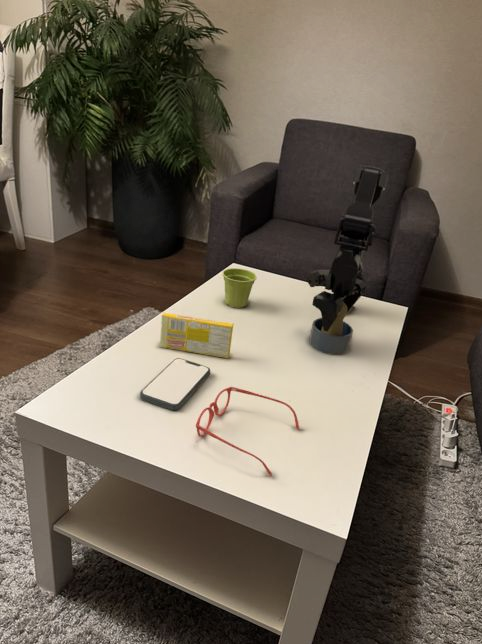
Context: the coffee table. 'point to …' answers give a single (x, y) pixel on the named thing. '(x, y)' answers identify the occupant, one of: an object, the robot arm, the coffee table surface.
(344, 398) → the coffee table surface
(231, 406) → the coffee table surface
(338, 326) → the brown cylinder with knob
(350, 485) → the coffee table surface
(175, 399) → the smartphone
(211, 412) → the red eyeglasses
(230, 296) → the plant pot
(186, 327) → the candy box
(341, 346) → the blue-grey round bowl
